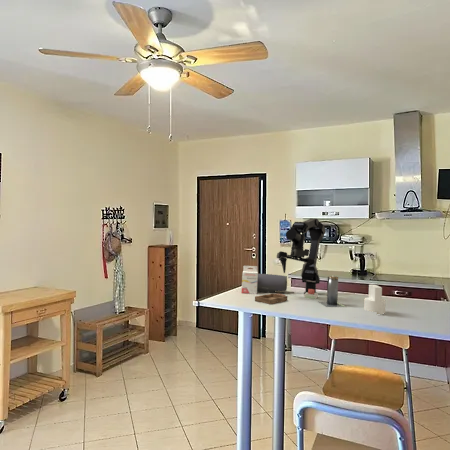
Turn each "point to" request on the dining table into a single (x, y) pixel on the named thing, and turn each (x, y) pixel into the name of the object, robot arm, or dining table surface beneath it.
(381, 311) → the base with upright slab
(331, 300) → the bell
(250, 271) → the ink cartridge box
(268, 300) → the wooden tray
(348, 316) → the dining table surface
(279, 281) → the bluetooth speaker
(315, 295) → the white square base
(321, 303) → the grey flat panel
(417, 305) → the dining table surface
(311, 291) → the button
